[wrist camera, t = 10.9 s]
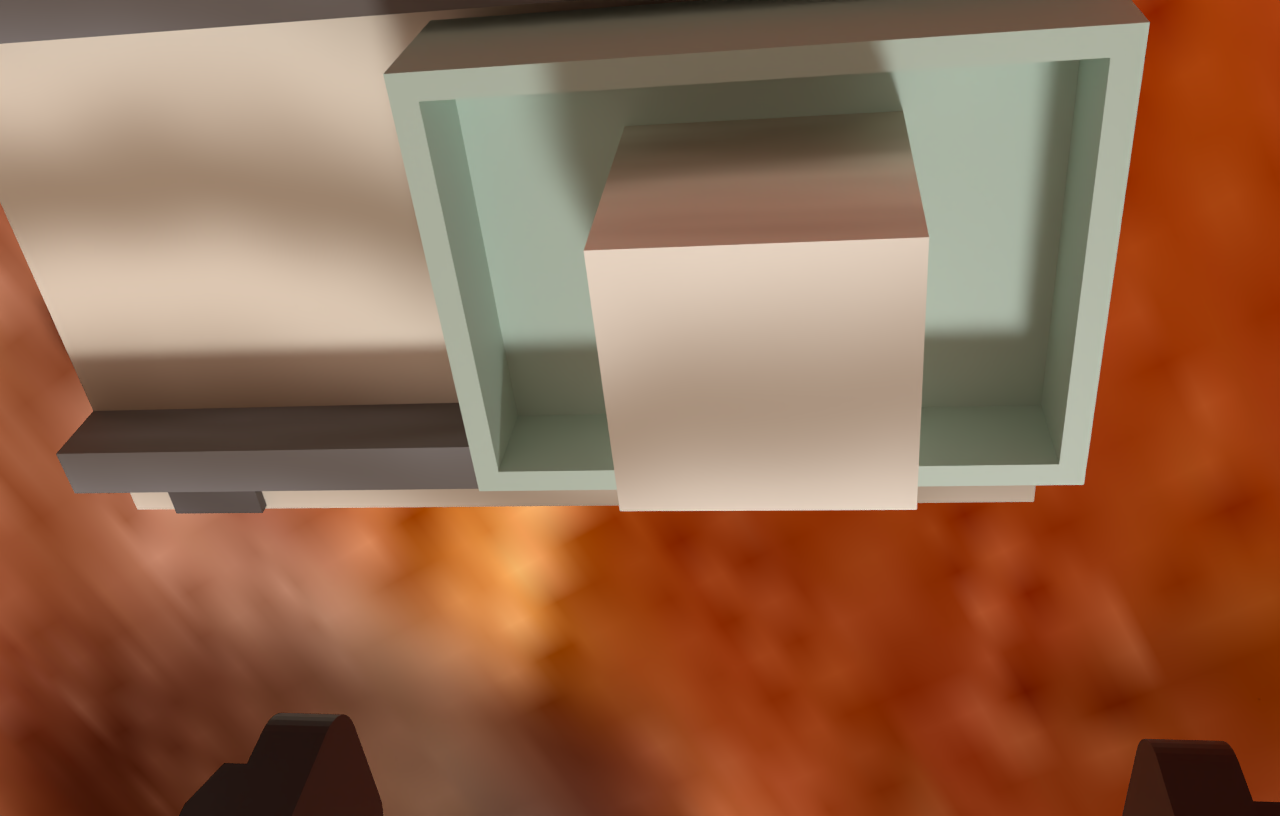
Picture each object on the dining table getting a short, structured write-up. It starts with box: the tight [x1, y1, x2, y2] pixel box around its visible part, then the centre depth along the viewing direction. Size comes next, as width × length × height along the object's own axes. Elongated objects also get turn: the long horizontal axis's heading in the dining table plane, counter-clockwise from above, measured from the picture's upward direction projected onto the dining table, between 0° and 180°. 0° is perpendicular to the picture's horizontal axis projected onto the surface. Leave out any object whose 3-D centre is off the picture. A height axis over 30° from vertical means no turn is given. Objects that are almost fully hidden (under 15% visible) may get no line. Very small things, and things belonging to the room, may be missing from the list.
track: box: [0, 0, 1036, 513], centre depth 24 cm, size 16×23×3 cm
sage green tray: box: [383, 0, 1150, 491], centre depth 22 cm, size 9×12×4 cm
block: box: [584, 111, 929, 511], centre depth 20 cm, size 5×5×5 cm
